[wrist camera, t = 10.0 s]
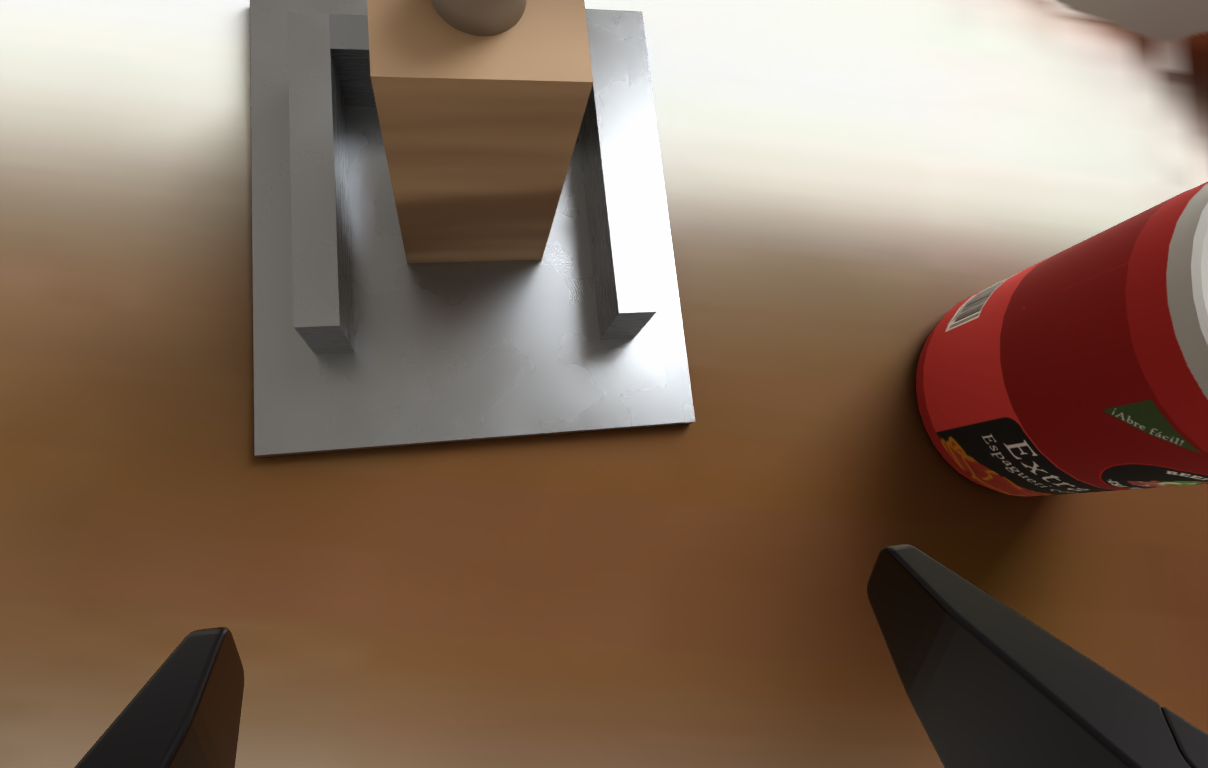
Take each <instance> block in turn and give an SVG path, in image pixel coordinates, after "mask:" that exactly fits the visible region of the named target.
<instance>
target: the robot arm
mask: <svg viewBox="0 0 1208 768" xmlns="http://www.w3.org/2000/svg"><path fill="white" fill-rule="evenodd" d="M867 594H868V598H869V601H870V604H871V606H872V609H873V611H874V614H875V616H876V619H877V621H878V624H879V626H880V629H881V631H882V634H883V636H884V639H885V641H886V644H887V646H888V649H889V651H890V654H891V656H892V659H893V661H894V664H895V666H896V669H897V671H898V674H899V676H900V679H901V681H902V684H903V686H904V688H905V690H906V693H907V695H908V697H909V699H910V701H911V703H912V705H913V707H914V709H915V711H916V713H917V715H918V717H919V719H920V721H921V723H922V725H923V727H924V729H925V731H926V733H927V734H928V736H929V738H930V740H931V742H932V744H933V746H934V748H935V750H936V752H937V754H938V756H939V758H940V760H941V761H942V763H943V765H944V767H945V768H1208V734H1206V733H1205V732H1203V731H1201V730H1200V729H1198V728H1197V727H1195V726H1193V725H1192V724H1190V723H1189V722H1187V721H1186V720H1184V719H1182V718H1181V717H1179V716H1178V715H1176V714H1175V713H1173V712H1172V711H1170V710H1168V709H1167V708H1165V707H1160V705H1159V704H1158V703H1157V702H1156V701H1154V700H1153V699H1151V698H1149V697H1148V696H1146V695H1145V694H1143V693H1142V692H1140V691H1139V690H1137V689H1135V688H1134V687H1132V686H1131V685H1129V684H1128V683H1126V682H1125V681H1123V680H1121V679H1120V678H1118V677H1117V676H1115V675H1114V674H1112V673H1110V672H1109V671H1107V670H1106V669H1104V668H1103V667H1101V666H1100V665H1098V664H1096V663H1095V662H1093V661H1092V660H1090V659H1089V658H1087V657H1086V656H1084V655H1082V654H1081V653H1079V652H1078V651H1076V650H1075V649H1073V648H1072V647H1070V646H1068V645H1067V644H1065V643H1064V642H1062V641H1061V640H1059V639H1057V638H1056V637H1054V636H1053V635H1051V634H1050V633H1048V632H1047V631H1045V630H1043V629H1042V628H1040V627H1039V626H1037V625H1036V624H1034V623H1033V622H1031V621H1029V620H1028V619H1026V618H1025V617H1023V616H1022V615H1020V614H1019V613H1017V612H1015V611H1014V610H1012V609H1011V608H1009V607H1008V606H1006V605H1005V604H1003V603H1001V602H1000V601H998V600H997V599H995V598H994V597H992V596H990V595H989V594H987V593H986V592H984V591H983V590H981V589H980V588H978V587H976V586H975V585H973V584H972V583H970V582H969V581H967V580H966V579H964V578H962V577H961V576H959V575H958V574H956V573H955V572H953V571H952V570H950V569H948V568H947V567H945V566H944V565H942V564H941V563H939V562H937V561H936V560H934V559H933V558H931V557H930V556H928V555H927V554H925V553H923V552H922V551H920V550H919V549H917V548H916V547H914V546H912V545H908V544H901V545H893V546H886V547H884V548H883V549H881V550H880V552H879V554H878V557H877V559H876V562H875V565H874V567H873V570H872V573H871V575H870V578H869V580H868V584H867ZM243 689H244V671H243V666H242V663H241V660H240V657H239V654H238V651H237V648H236V645H235V642H234V639H233V636H232V634H231V632H230V630H229V629H228V628H226V627H218V628H210V629H202V630H196V631H193V632H191V633H190V634H189V635H187V636H186V637H185V639H184V640H183V641H182V642H181V643H180V644H179V646H178V647H177V648H176V649H175V650H174V651H173V653H172V654H171V655H170V656H169V657H168V658H167V660H166V661H165V662H164V663H163V664H162V666H161V667H160V668H159V669H158V670H157V671H156V673H155V674H154V675H153V676H152V677H151V678H150V680H149V681H148V682H147V683H146V684H145V685H144V687H143V688H142V689H141V690H140V691H139V693H138V694H137V695H136V696H135V697H134V698H133V700H132V701H131V702H130V703H129V704H128V705H127V707H126V708H125V709H124V710H123V711H122V712H121V714H120V715H119V716H118V717H117V718H116V720H115V721H114V722H113V723H112V724H111V725H110V727H109V728H108V729H107V730H106V731H105V732H104V734H103V735H102V736H101V737H100V738H99V739H98V741H97V742H96V743H95V744H94V745H93V747H92V748H91V749H90V750H89V751H88V752H87V754H86V755H85V756H84V757H83V758H82V759H81V761H80V762H79V763H78V764H77V765H76V766H75V768H235V759H236V750H237V742H238V733H239V724H240V716H241V707H242V698H243Z"/></svg>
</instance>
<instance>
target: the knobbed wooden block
mask: <svg viewBox="0 0 1208 768" xmlns="http://www.w3.org/2000/svg"><path fill="white" fill-rule="evenodd" d="M367 10H368V32H369V54H370V76H371V81H372V87H373V92H374V97H375V102H376V107H377V112H378V117H379V122H380V127H381V133H382V138H383V143H384V148H385V153H386V158H387V163H388V168H389V173H390V179H391V184H392V189H393V194H394V199H395V204H396V209H397V214H398V219H399V225H400V230H401V235H402V240H403V245H404V250H405V255H406V260H407V263H436V262H474V261H511V260H542V258H543V255H544V251H545V248H546V244H547V241H548V237H549V234H550V230H551V227H552V223H553V220H554V216H555V213H556V209H557V206H558V202H559V199H560V195H561V192H562V189H563V185H564V182H565V178H566V175H567V171H568V168H569V164H570V161H571V157H572V154H573V150H574V147H575V143H576V140H577V136H578V133H579V130H580V126H581V123H582V119H583V116H584V112H585V109H586V105H587V102H588V98H589V95H590V91H591V88H592V84H593V76H592V67H591V58H590V49H589V40H588V31H587V22H586V13H585V5H584V0H367Z"/></svg>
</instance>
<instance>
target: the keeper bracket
mask: <svg viewBox="0 0 1208 768" xmlns="http://www.w3.org/2000/svg"><path fill="white" fill-rule="evenodd" d="M585 13H586V22H587V31H588V40H589V49H590V58H591V67H592V76H593V84H592V88H591V91H590V95H589V98H588V102H587V105H586V109H585V112H584V116H583V119H582V123H581V126H580V130H579V133H578V136H577V140H576V143H575V147H574V150H573V154H572V157H571V161H570V164H569V168H568V171H567V175H566V178H565V182H564V185H563V189H562V192H561V195H560V199H559V202H558V206H557V209H556V213H555V216H554V220H553V223H552V227H551V230H550V234H549V237H548V241H547V244H546V248H545V251H544V255H543V258H542V260H511V261H474V262H436V263H407V260H406V255H405V250H404V245H403V240H402V235H401V230H400V225H399V219H398V214H397V209H396V204H395V199H394V194H393V189H392V184H391V179H390V173H389V168H388V163H387V158H386V153H385V148H384V143H383V138H382V133H381V127H380V122H379V117H378V112H377V107H376V102H375V97H374V92H373V87H372V81H371V76H370V54H369V32H368V10H367V0H250V67H251V162H252V257H253V352H254V448H255V456H257V457H271V456H283V455H296V454H309V453H322V452H335V451H347V450H360V449H373V448H386V447H398V446H411V445H424V444H437V443H450V442H462V441H475V440H488V439H501V438H513V437H526V436H539V435H552V434H565V433H577V432H590V431H603V430H616V429H628V428H641V427H654V426H667V425H680V424H691V423H693V422H695V416H694V408H693V401H692V393H691V385H690V377H689V370H688V362H687V354H686V347H685V339H684V331H683V324H682V316H681V308H680V300H679V293H678V285H677V277H676V270H675V262H674V254H673V247H672V239H671V231H670V223H669V216H668V208H667V200H666V193H665V185H664V177H663V170H662V162H661V154H660V146H659V139H658V131H657V123H656V116H655V108H654V100H653V93H652V85H651V77H650V69H649V62H648V54H647V46H646V39H645V31H644V23H643V16H642V12H639V11H618V10H596V9H585Z"/></svg>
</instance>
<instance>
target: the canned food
mask: <svg viewBox="0 0 1208 768" xmlns="http://www.w3.org/2000/svg"><path fill="white" fill-rule="evenodd" d="M916 395H917V401H918V408H919V412H920V415H921V418H922V421H923V424H924V427H925V429H926V431H927V433H928V435H929V437H930V439H931V441H932V443H933V445H934V446H935V448H936V449H937V450H938V451H939V453H940V454H941V455H942V457H943V458H944V459H945V460H946V462H947V463H949V464H950V465H951V466H952V467H953V468H954V469H955V470H956V471H957V472H958V473H960V474H961V475H963V476H964V477H966V478H968V479H969V480H971V481H972V482H974V483H976V484H978V485H981V486H984V487H987V488H990V489H992V490H995V491H998V492H1001V493H1004V494H1008V495H1016V496H1023V497H1030V496H1044V495H1058V494H1072V493H1086V492H1100V491H1114V490H1128V489H1142V488H1156V487H1170V486H1184V485H1198V484H1208V182H1206V183H1204V184H1202V185H1200V186H1198V187H1196V188H1193V189H1191V190H1188V191H1186V192H1183V193H1181V194H1179V195H1177V196H1175V197H1173V198H1171V199H1169V200H1167V201H1165V202H1163V203H1161V204H1159V205H1157V206H1155V207H1152V208H1150V209H1148V210H1146V211H1144V212H1142V213H1140V214H1138V215H1136V216H1134V217H1132V218H1130V219H1128V220H1126V221H1124V222H1122V223H1120V224H1118V225H1116V226H1113V227H1111V228H1109V229H1107V230H1105V231H1103V232H1101V233H1099V234H1097V235H1095V236H1093V237H1091V238H1089V239H1087V240H1085V241H1083V242H1081V243H1079V244H1077V245H1074V246H1072V247H1070V248H1068V249H1066V250H1064V251H1062V252H1060V253H1058V254H1056V255H1054V256H1052V257H1050V258H1048V259H1046V260H1044V261H1042V262H1040V263H1038V264H1036V265H1033V266H1031V267H1029V268H1027V269H1025V270H1023V271H1021V272H1019V273H1017V274H1015V275H1013V276H1011V277H1009V278H1007V279H1005V280H1003V281H1001V282H999V283H997V284H994V285H992V286H990V287H988V288H986V289H984V290H982V291H980V292H978V293H976V294H974V295H972V296H970V297H968V298H967V299H965V300H963V301H961V302H959V303H958V304H957V305H955V306H954V307H953V308H952V309H951V310H950V311H949V312H948V313H947V314H946V315H945V316H944V317H943V318H942V319H941V320H940V321H939V322H938V324H937V325H936V326H935V328H934V329H933V330H932V332H931V333H930V335H929V336H928V338H927V339H926V341H925V344H924V346H923V349H922V351H921V353H920V357H919V361H918V366H917V371H916Z"/></svg>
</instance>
